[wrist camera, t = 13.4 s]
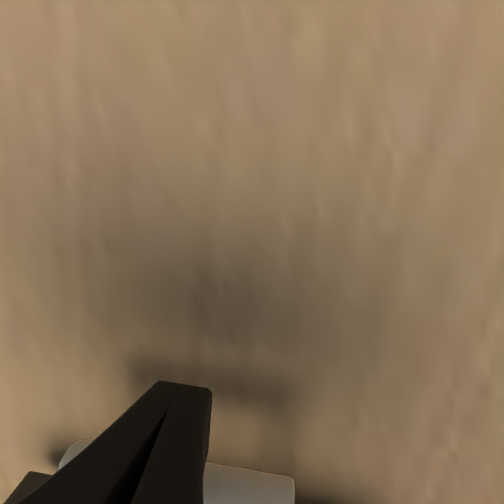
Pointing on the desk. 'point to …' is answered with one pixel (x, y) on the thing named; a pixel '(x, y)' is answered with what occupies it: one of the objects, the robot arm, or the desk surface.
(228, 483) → the drawer
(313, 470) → the desk surface
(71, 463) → the robot arm
